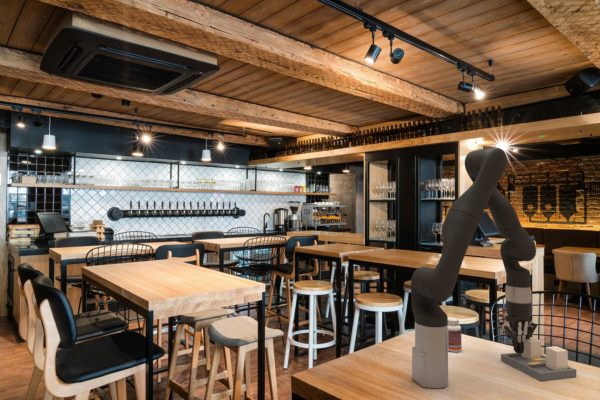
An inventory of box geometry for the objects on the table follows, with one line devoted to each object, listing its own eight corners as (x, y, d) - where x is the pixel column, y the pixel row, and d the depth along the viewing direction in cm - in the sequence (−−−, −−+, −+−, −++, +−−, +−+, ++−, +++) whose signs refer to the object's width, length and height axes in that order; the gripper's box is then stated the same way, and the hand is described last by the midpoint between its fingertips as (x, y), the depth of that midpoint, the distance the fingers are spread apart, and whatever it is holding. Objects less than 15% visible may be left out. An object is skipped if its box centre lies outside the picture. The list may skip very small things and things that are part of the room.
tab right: (557, 371, 119) (556, 351, 119) (545, 366, 123) (545, 347, 123) (567, 370, 120) (567, 350, 120) (556, 365, 124) (556, 346, 124)
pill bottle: (464, 349, 142) (464, 318, 142) (456, 354, 137) (456, 322, 138) (447, 345, 146) (447, 315, 146) (440, 349, 142) (439, 318, 142)
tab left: (531, 360, 127) (530, 342, 128) (521, 356, 131) (521, 338, 131) (541, 359, 128) (541, 341, 129) (531, 355, 132) (531, 337, 132)
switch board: (540, 381, 116) (540, 373, 116) (501, 360, 131) (500, 353, 131) (576, 376, 119) (576, 369, 119) (533, 357, 134) (533, 350, 134)
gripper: (509, 303, 124) (510, 358, 124) (544, 301, 127) (545, 355, 127) (492, 298, 131) (493, 350, 131) (526, 296, 134) (526, 347, 134)
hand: (518, 352), depth 129 cm, fingers closed
